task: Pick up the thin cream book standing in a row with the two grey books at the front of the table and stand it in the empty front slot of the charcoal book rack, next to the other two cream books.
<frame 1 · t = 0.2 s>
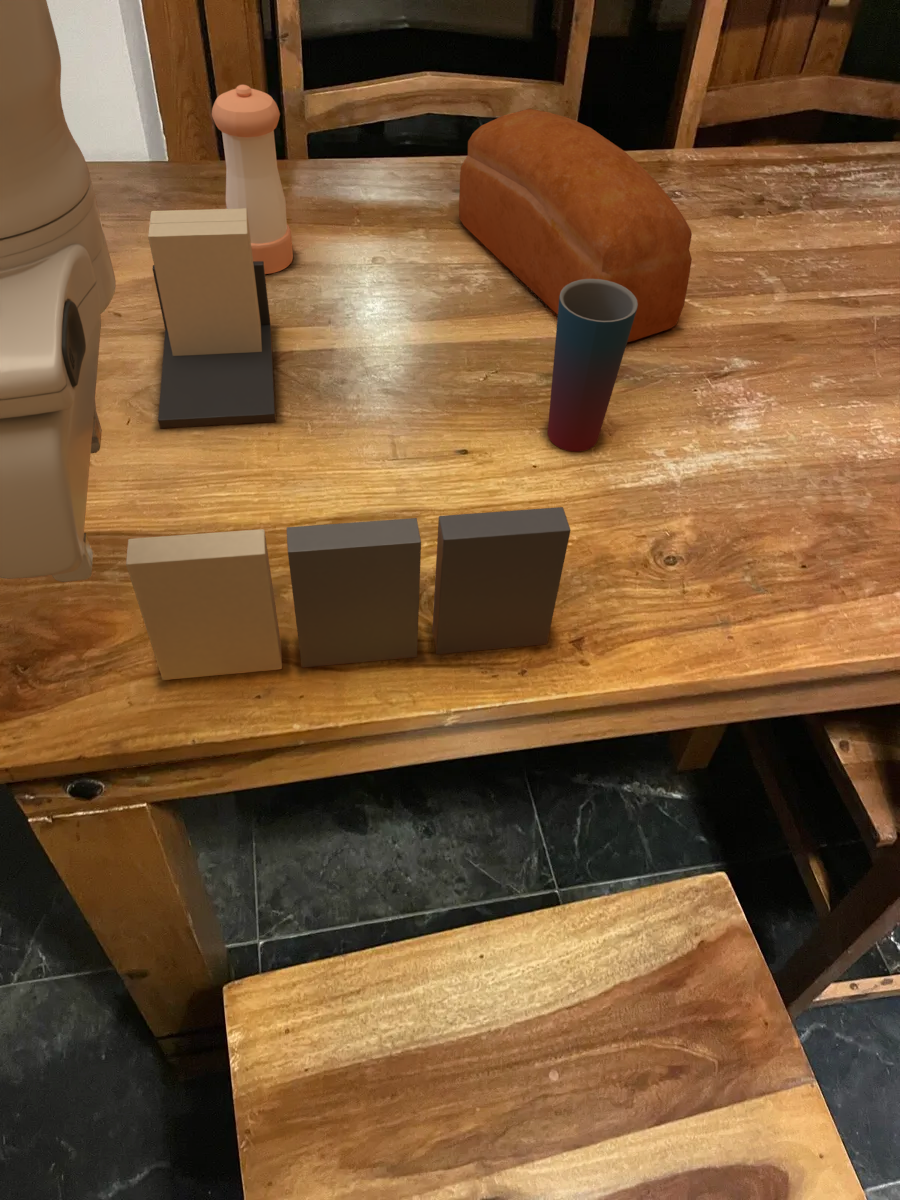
hand: (81, 504, 49), 24 cm above the table, tool pointing down, fingers open, 8 cm apart
cream book: (223, 662, 72), on the table
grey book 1: (358, 650, 74), on the table
pepper shaker: (262, 259, 111), on the table
bread: (561, 270, 113), on the table
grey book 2: (489, 637, 75), on the table
cup: (572, 436, 92), on the table
book rack: (218, 375, 96), on the table
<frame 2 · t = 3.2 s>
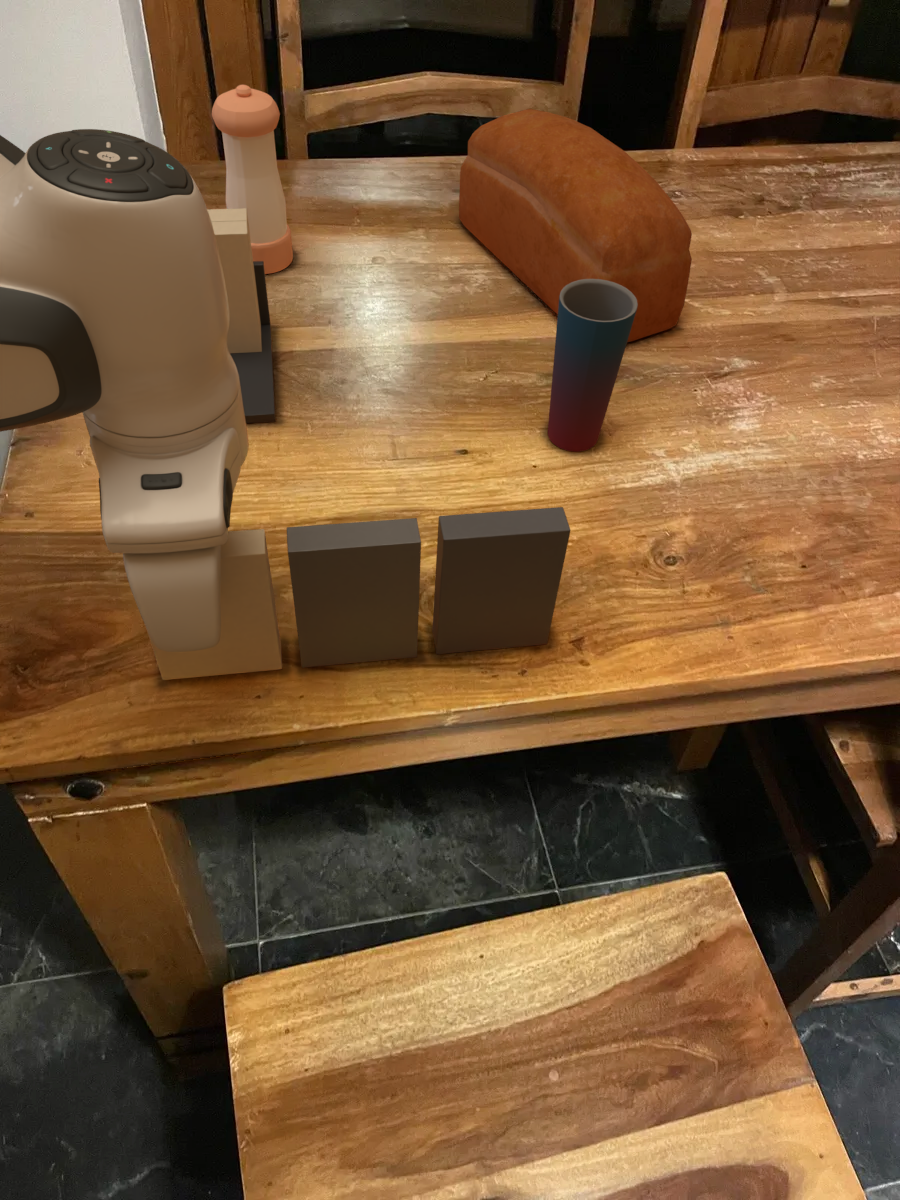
hand: (204, 584, 65), 9 cm above the table, tool pointing down, fingers closed on cream book, 2 cm apart
cream book: (223, 662, 72), on the table, touching gripper
everything else where it was.
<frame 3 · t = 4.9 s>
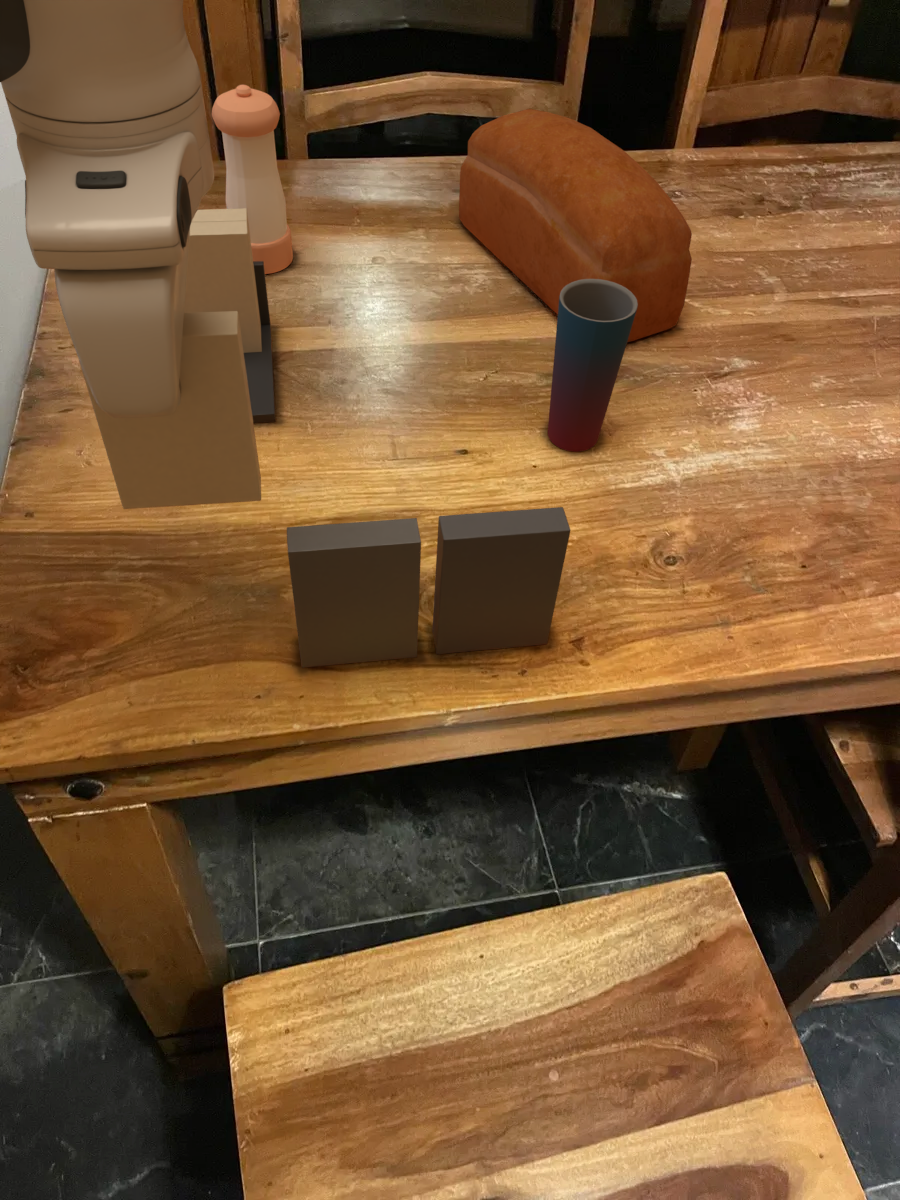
hand: (168, 381, 56), 24 cm above the table, tool pointing down, fingers closed on cream book, 2 cm apart
cream book: (193, 493, 63), point 15 cm above the table, touching gripper
everything else where it was.
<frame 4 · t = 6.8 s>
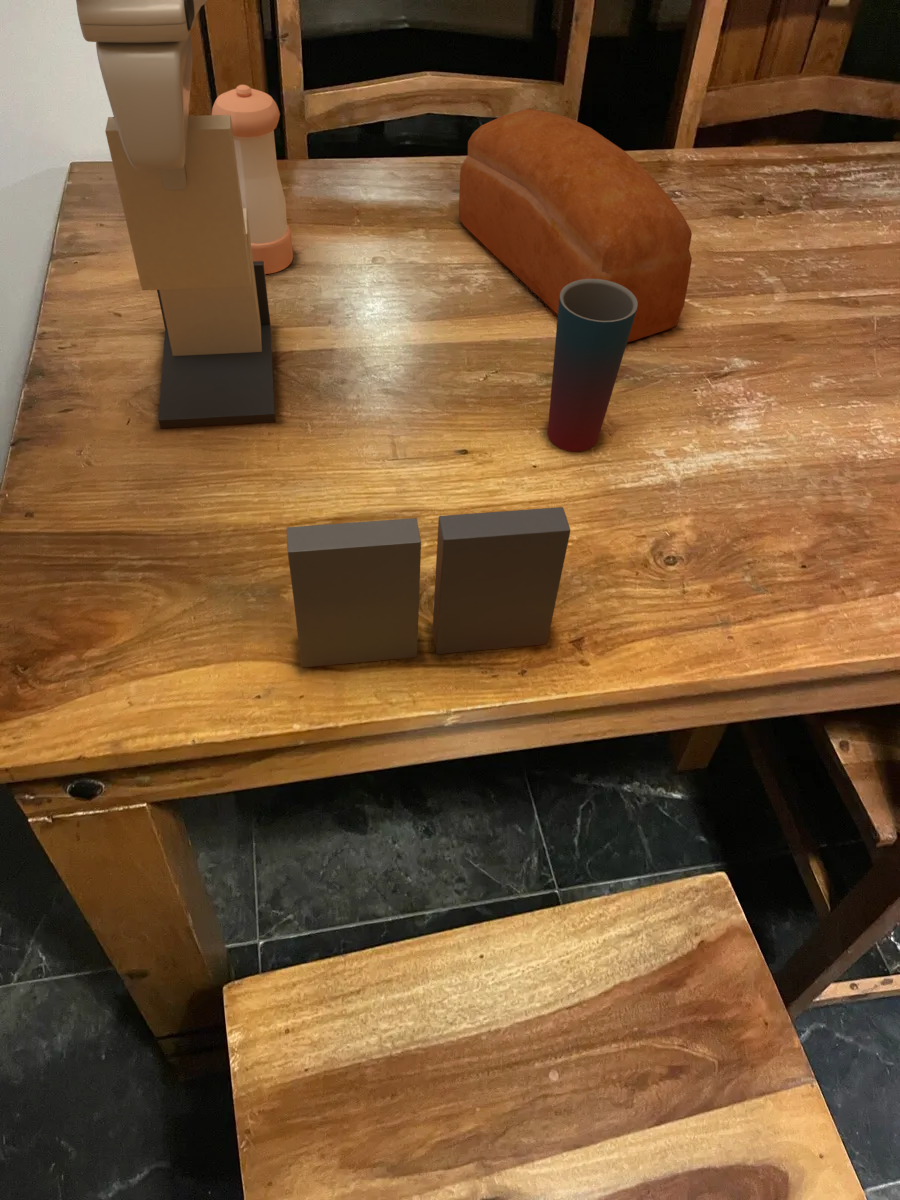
hand: (176, 174, 72), 24 cm above the table, tool pointing down, fingers closed on cream book, 2 cm apart
cream book: (197, 280, 79), point 15 cm above the table, touching gripper
everything else where it was.
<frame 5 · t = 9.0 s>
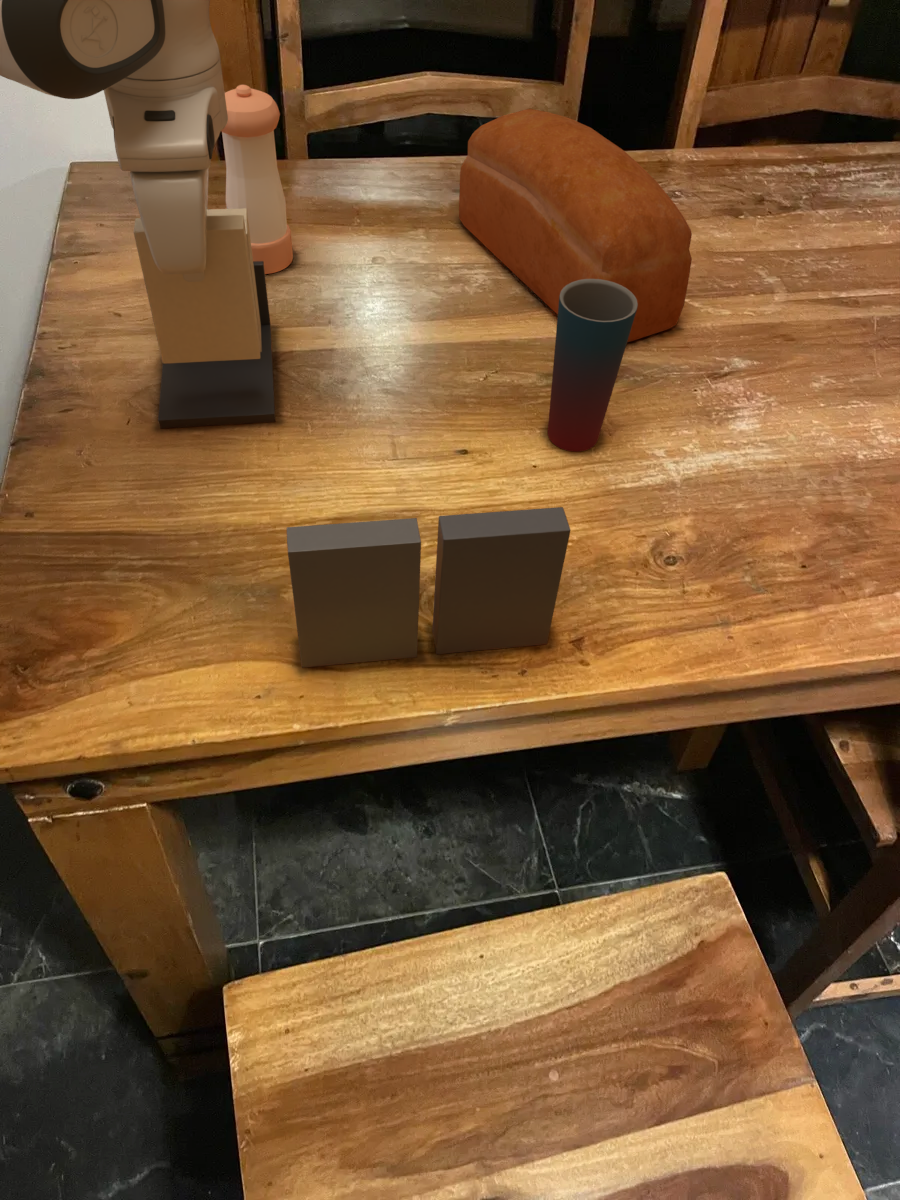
hand: (195, 266, 82), 15 cm above the table, tool pointing down, fingers closed on cream book, 2 cm apart
cream book: (212, 354, 88), point 6 cm above the table, touching gripper
everything else where it was.
when the fingers open (10 cm above the table, at t = 10.4 s): cream book stays where it is, resting on book rack.
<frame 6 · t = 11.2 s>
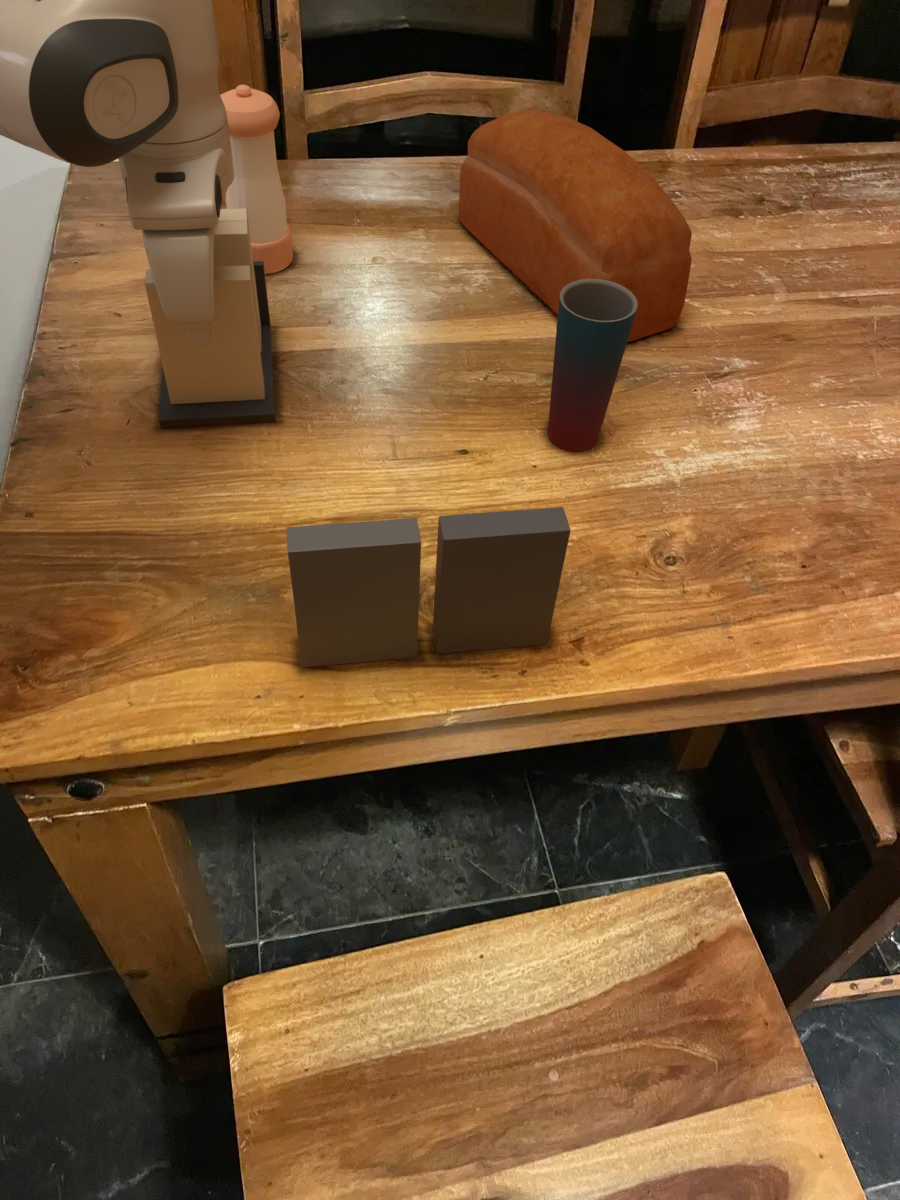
hand: (202, 310, 85), 10 cm above the table, tool pointing down, fingers open, 8 cm apart
cream book: (218, 394, 92), point 1 cm above the table, touching book rack
everything else where it was.
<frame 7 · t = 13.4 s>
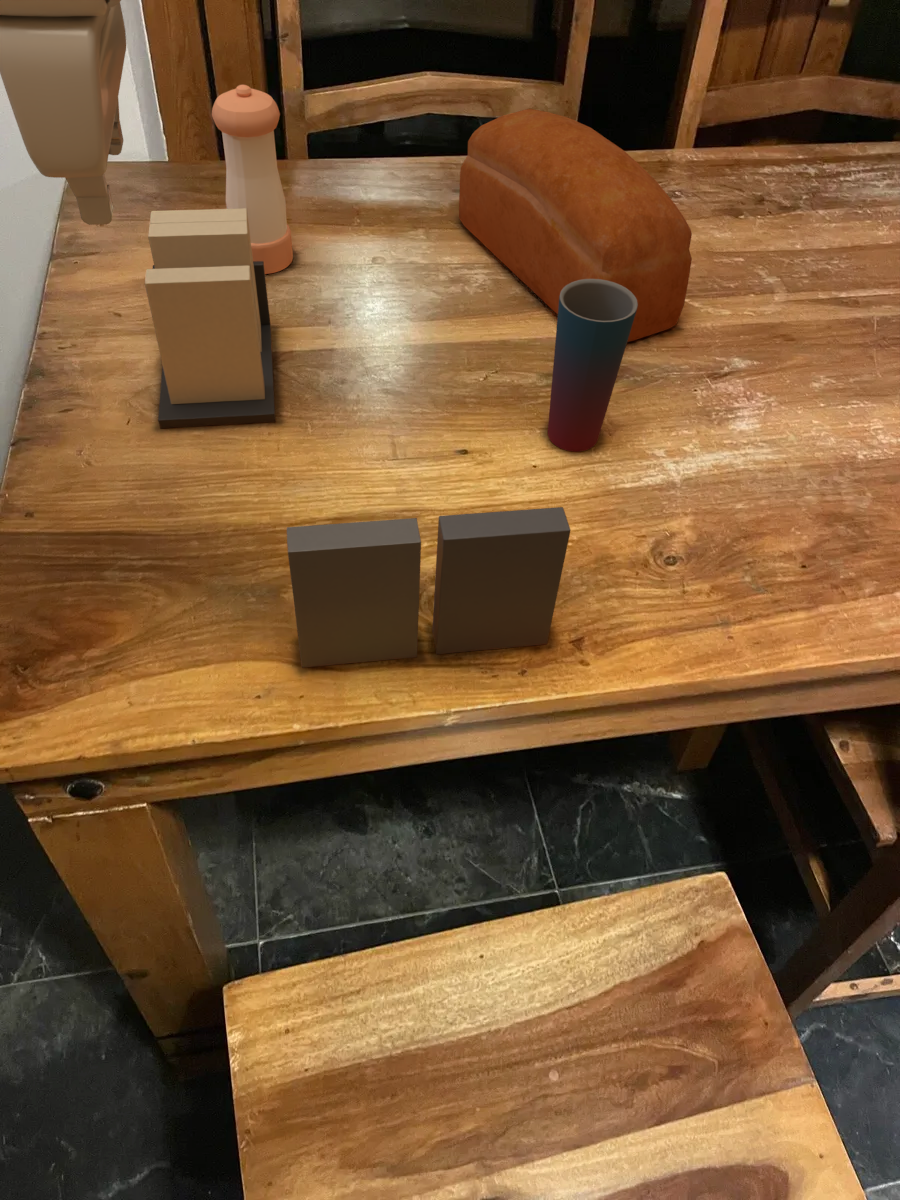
hand: (104, 183, 60), 30 cm above the table, tool pointing down, fingers open, 8 cm apart
nothing on the table moved.
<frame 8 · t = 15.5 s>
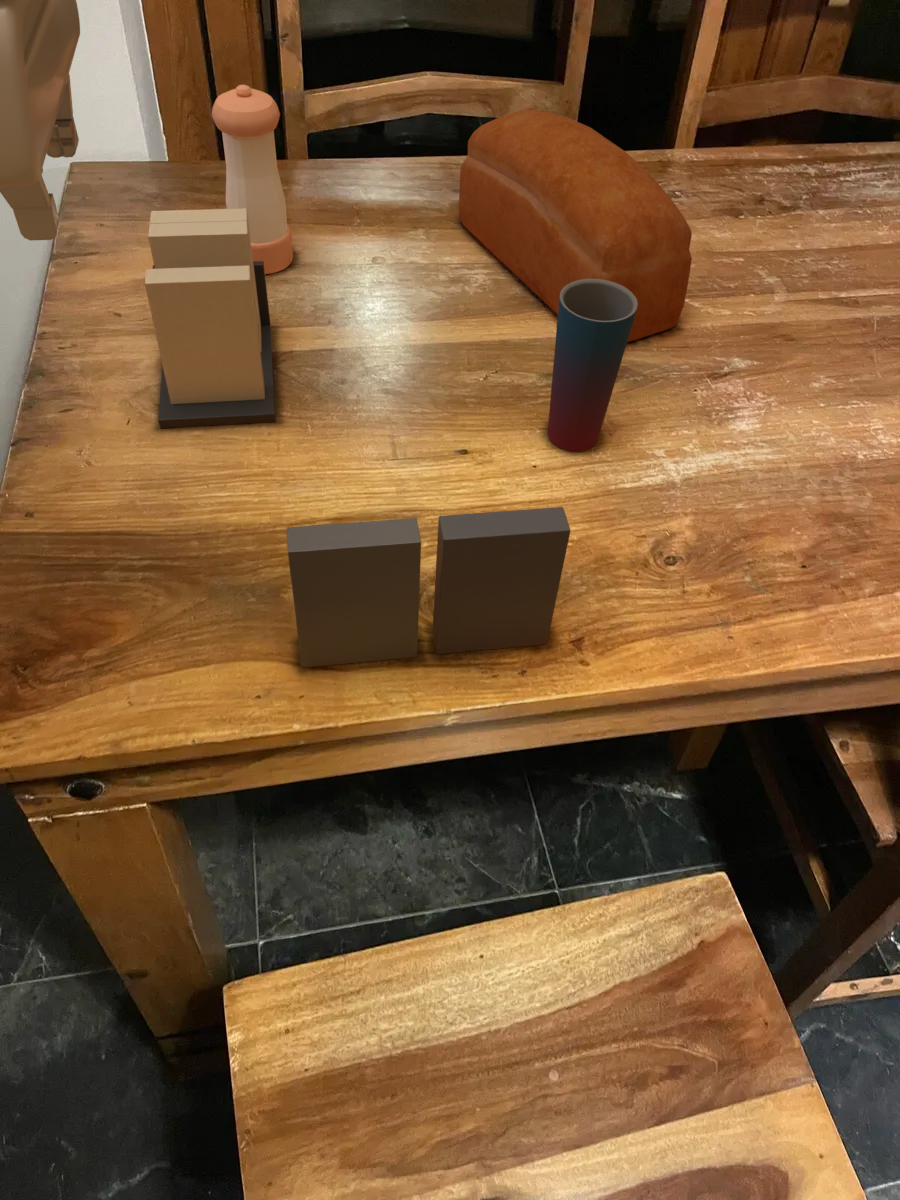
hand: (53, 190, 52), 33 cm above the table, tool pointing down, fingers open, 8 cm apart
nothing on the table moved.
at the end: cream book inside the target area on the book rack (2.9 cm from its centre), point 1.0 cm above the book rack's base; cream book tilted 0°; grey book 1 moved 0.0 cm from its start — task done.
